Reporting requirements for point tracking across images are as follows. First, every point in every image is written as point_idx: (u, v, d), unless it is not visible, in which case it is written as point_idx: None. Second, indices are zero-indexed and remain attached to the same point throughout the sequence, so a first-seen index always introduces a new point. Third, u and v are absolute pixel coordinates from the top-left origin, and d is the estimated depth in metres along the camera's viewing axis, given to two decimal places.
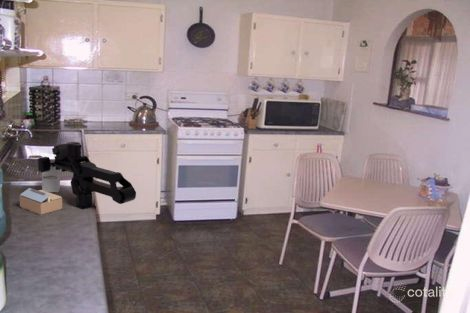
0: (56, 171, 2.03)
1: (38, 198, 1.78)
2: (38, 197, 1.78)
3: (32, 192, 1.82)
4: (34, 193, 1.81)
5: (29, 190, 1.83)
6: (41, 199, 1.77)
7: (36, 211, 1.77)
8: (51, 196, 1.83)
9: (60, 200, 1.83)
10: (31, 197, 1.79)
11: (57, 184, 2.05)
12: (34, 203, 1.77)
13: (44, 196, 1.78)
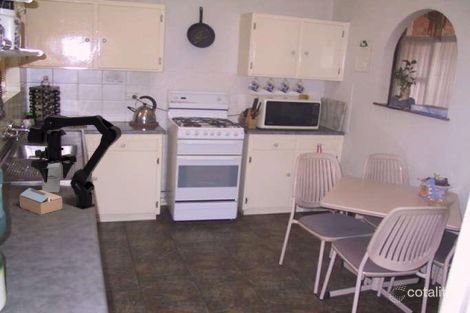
0: (56, 171, 2.03)
1: (38, 198, 1.78)
2: (38, 197, 1.78)
3: (32, 192, 1.82)
4: (34, 193, 1.81)
5: (29, 190, 1.83)
6: (41, 199, 1.77)
7: (36, 211, 1.77)
8: (51, 196, 1.83)
9: (60, 200, 1.83)
10: (31, 197, 1.79)
11: (57, 184, 2.05)
12: (34, 203, 1.77)
13: (44, 196, 1.78)
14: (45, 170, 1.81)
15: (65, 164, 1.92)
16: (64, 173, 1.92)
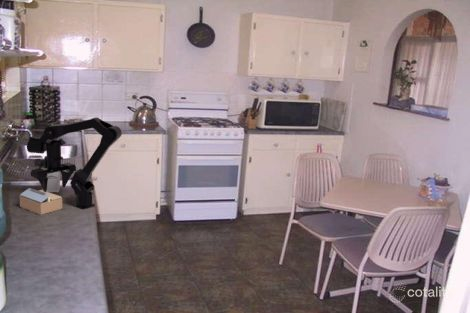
0: None
1: (38, 198, 1.78)
2: (38, 197, 1.78)
3: (32, 192, 1.82)
4: (34, 193, 1.81)
5: (29, 190, 1.83)
6: (41, 199, 1.77)
7: (36, 211, 1.77)
8: (51, 196, 1.83)
9: (60, 200, 1.83)
10: (31, 197, 1.79)
11: (57, 184, 2.05)
12: (34, 203, 1.77)
13: (44, 196, 1.78)
14: (44, 179, 1.82)
15: (64, 173, 1.92)
16: (63, 182, 1.93)
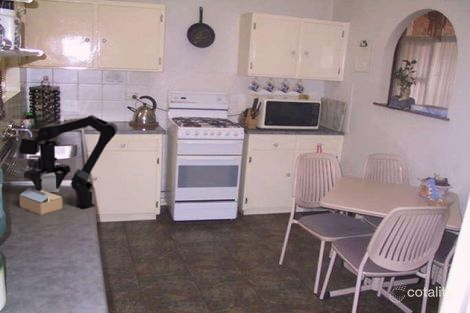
0: None
1: (38, 198, 1.78)
2: (38, 197, 1.78)
3: (32, 192, 1.82)
4: (34, 193, 1.81)
5: (29, 190, 1.83)
6: (41, 199, 1.77)
7: (36, 211, 1.77)
8: (51, 196, 1.83)
9: (60, 200, 1.83)
10: (31, 197, 1.79)
11: None
12: (34, 203, 1.77)
13: (44, 196, 1.78)
14: (38, 181, 1.79)
15: (58, 174, 1.90)
16: (57, 183, 1.90)
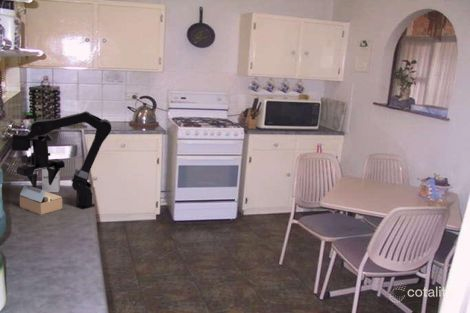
0: None
1: (36, 197, 1.77)
2: (36, 196, 1.77)
3: (29, 190, 1.81)
4: (31, 191, 1.80)
5: (26, 187, 1.82)
6: (40, 198, 1.76)
7: (36, 211, 1.77)
8: (51, 196, 1.83)
9: (60, 200, 1.83)
10: (30, 197, 1.79)
11: (57, 184, 2.05)
12: (34, 203, 1.77)
13: (41, 194, 1.77)
14: (33, 176, 1.77)
15: (51, 170, 1.86)
16: (50, 179, 1.87)
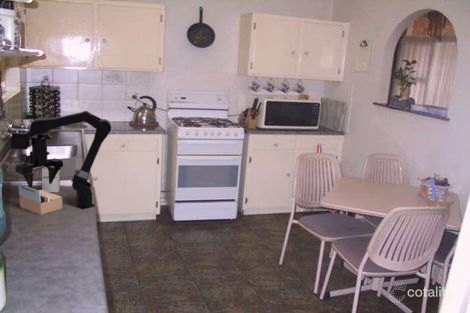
0: None
1: (34, 197, 1.76)
2: (33, 196, 1.76)
3: (25, 190, 1.79)
4: (27, 191, 1.78)
5: (21, 187, 1.80)
6: (37, 198, 1.75)
7: (36, 211, 1.77)
8: (51, 196, 1.83)
9: (60, 200, 1.83)
10: (29, 197, 1.78)
11: (57, 184, 2.05)
12: (34, 203, 1.77)
13: (36, 194, 1.75)
14: (30, 175, 1.75)
15: (51, 169, 1.86)
16: (50, 178, 1.87)
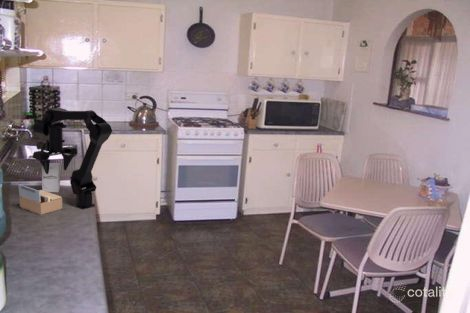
0: (56, 171, 2.03)
1: (34, 197, 1.76)
2: (33, 196, 1.76)
3: (25, 190, 1.79)
4: (27, 191, 1.78)
5: (21, 187, 1.80)
6: (37, 198, 1.75)
7: (36, 211, 1.77)
8: (51, 196, 1.83)
9: (60, 200, 1.83)
10: (29, 197, 1.78)
11: (57, 184, 2.05)
12: (34, 203, 1.77)
13: (36, 194, 1.75)
14: (46, 161, 1.86)
15: (66, 156, 1.97)
16: (65, 165, 1.97)
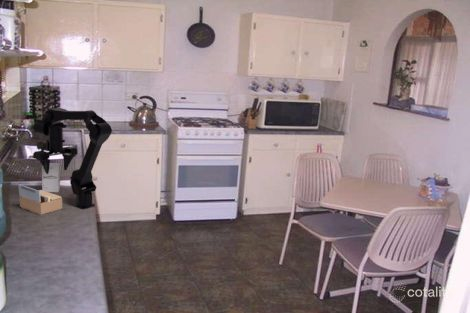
0: (56, 171, 2.03)
1: (34, 197, 1.76)
2: (33, 196, 1.76)
3: (25, 190, 1.79)
4: (27, 191, 1.78)
5: (21, 187, 1.80)
6: (37, 198, 1.75)
7: (36, 211, 1.77)
8: (51, 196, 1.83)
9: (60, 200, 1.83)
10: (29, 197, 1.78)
11: (57, 184, 2.05)
12: (34, 203, 1.77)
13: (36, 194, 1.75)
14: (47, 161, 1.86)
15: (66, 156, 1.97)
16: (65, 165, 1.97)
